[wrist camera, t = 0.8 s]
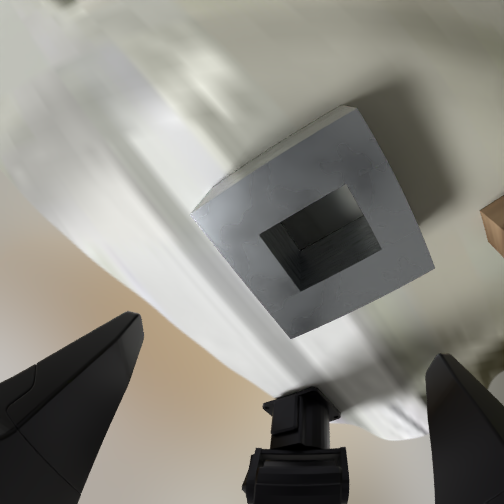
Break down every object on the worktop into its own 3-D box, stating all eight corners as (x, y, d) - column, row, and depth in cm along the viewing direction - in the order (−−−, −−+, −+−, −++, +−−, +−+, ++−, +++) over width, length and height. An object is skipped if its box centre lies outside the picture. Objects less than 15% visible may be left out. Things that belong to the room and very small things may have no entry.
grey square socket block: (410, 232, 21) (435, 268, 16) (292, 294, 24) (290, 339, 20) (341, 104, 17) (357, 108, 13) (212, 187, 21) (189, 214, 17)
